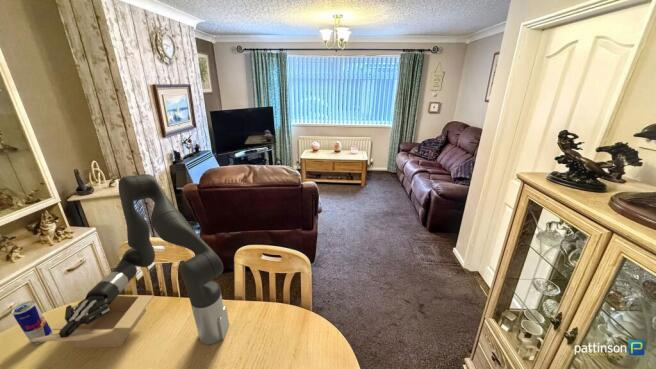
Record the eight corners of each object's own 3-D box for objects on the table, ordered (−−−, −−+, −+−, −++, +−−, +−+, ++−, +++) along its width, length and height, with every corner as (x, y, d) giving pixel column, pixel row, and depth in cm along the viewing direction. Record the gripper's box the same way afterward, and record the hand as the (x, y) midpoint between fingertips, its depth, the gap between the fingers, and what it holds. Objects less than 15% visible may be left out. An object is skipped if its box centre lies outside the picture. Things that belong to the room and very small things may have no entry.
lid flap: (83, 338, 70) (82, 340, 70) (112, 330, 81) (112, 332, 81) (30, 339, 70) (29, 342, 69) (67, 330, 80) (66, 333, 80)
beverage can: (39, 347, 83) (18, 315, 77) (27, 343, 84) (6, 311, 78) (57, 333, 88) (39, 301, 82) (45, 330, 89) (27, 298, 83)
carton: (159, 310, 97) (154, 294, 94) (136, 346, 84) (128, 328, 81) (95, 311, 96) (87, 295, 93) (60, 347, 83) (50, 330, 80)
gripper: (85, 280, 86) (32, 327, 70) (125, 280, 86) (82, 326, 71) (92, 296, 89) (43, 344, 73) (131, 296, 89) (91, 344, 74)
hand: (62, 335), depth 72 cm, fingers closed
